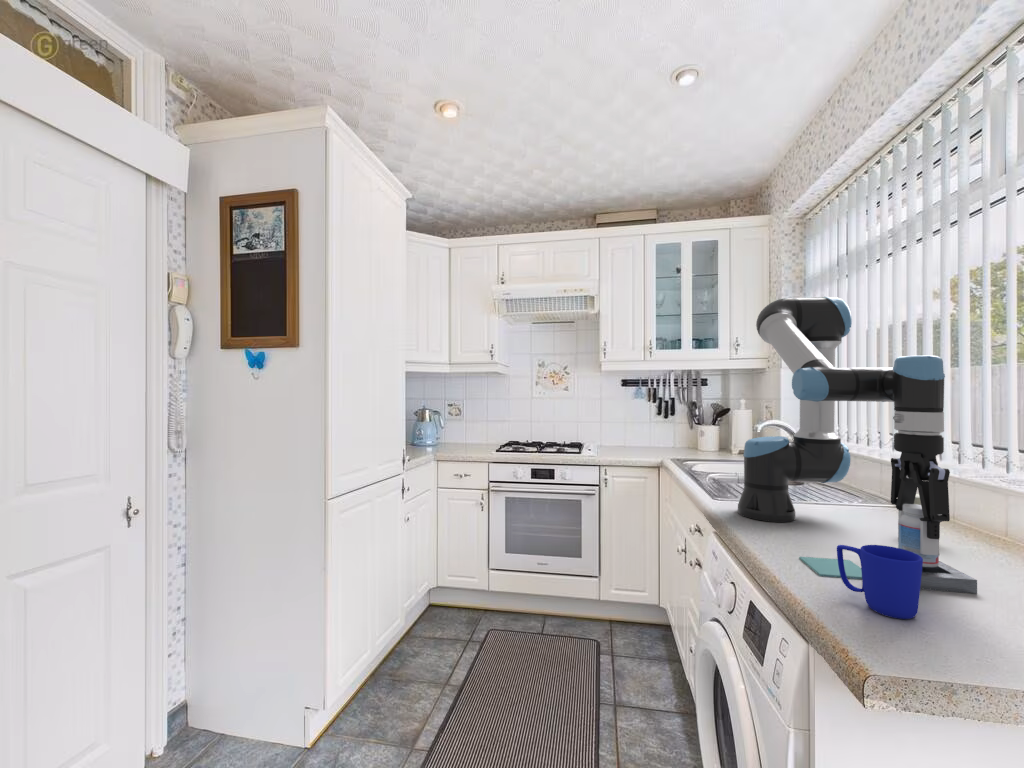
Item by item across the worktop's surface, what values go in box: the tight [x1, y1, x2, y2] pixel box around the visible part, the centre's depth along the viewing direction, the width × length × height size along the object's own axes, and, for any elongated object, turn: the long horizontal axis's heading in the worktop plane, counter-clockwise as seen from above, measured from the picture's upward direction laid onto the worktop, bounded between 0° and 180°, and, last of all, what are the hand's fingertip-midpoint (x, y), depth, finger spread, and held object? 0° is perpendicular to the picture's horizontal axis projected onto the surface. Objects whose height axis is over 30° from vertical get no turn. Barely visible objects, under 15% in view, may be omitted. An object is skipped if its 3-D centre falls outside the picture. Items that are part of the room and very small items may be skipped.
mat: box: [798, 556, 862, 580], centre depth 97 cm, size 10×10×1 cm
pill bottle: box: [897, 504, 940, 567], centre depth 93 cm, size 6×6×11 cm
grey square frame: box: [920, 560, 978, 595], centre depth 93 cm, size 12×12×2 cm
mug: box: [836, 544, 923, 620], centre depth 80 cm, size 8×12×10 cm
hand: (917, 548), depth 93 cm, fingers closed on pill bottle, 6 cm apart
